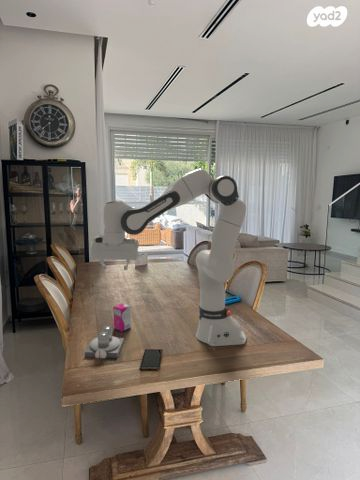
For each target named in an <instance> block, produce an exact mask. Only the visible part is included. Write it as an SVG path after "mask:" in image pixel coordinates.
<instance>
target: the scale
mask: <svg viewBox="0 0 360 480" xmlns="http://www.w3.org/2000/svg"><path fill="white" fill-rule="evenodd" d="M124 343H125V338H124V337H117V336H113V339H112V340H111V341H109V346H108V347H107V348H99V347H98V336H97V337H96V336H94V337H93V338H92V339H91V341H90V343H89V345H88V346H87V348H86V349H85V351H84V357H85V358H96V359H106V358H116V359H117V358H118V357H119V355H120V352H121V351H122V348H123V346H124Z"/></svg>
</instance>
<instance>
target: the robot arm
mask: <svg viewBox="0 0 360 480" xmlns="http://www.w3.org/2000/svg"><path fill="white" fill-rule="evenodd" d="M202 195H205V196H206V197H207V198H208V199H209V200H210V201H212V202H213V203H216V204H219V206H220V210H219V214H218V216H217V219H216V221H215V224H214V227H213V229H212V232H211V234H210V238H211V244H210V245H211V246H210V249H203V250H200V251H199V252H198V253H197V255H196V257H195V264H196V268H197V273H198V274H197V275H198V282H199V292H200V293H199V294H200V295H199V296H200V297H199V298H200V299H199V306H198V327H197V330H196V334H195V338H196V339H197V340H198V341H200V342H201V343H205V344H207V345H208V346H210V347H223V346H237V345H245V343H246V342H247V336H246V333H245V332H244V331H243V330H242V329H241V325H240V323H239V322H238V320H237V319H235V318H234V317H232V312H231V310H230V309H229V308H228V306H226V288H225V287H224V282H227V281H229V280H230V279H231V278H232V277H233V276H234V273H235V267H234V254H235V248H236V243H237V240H238V237H239V234H240V232H241V230H242V227H243V223H244V221H245V216H246V213H247V212H246V211H247V205H246V204H245V202H244V201H243V200H241V199H239V198H240V197H239V191H238V184H237V182H236V180H235V179H234V178H233V177H232V176H229V175H224V174H223V175H219V176H218V177H216V178H213V177H212V176H211V175H210V174H209V172H208V171H207V170H206V169H203V168H198V169H197V168H196V169H194V170H191V171H189V172H187V173H185V174H183V175H182V176H180V177H178V178H177V179H176V180H175V179H174V180H173V182H172V183H170V184H169V185H168V186H167V187H166V188H165V190H164V192H162V194H161V195H160V196H158V198H156V199H154V200H153V201H151V202H150V203H148V204H146V205H145V206H142V207H139V208H137V207H134V206H132V205H130V204H127V203H126V202H124V200H121V199H117V200H111V201H108V202H106V204H105V205H104V208H103V224H104V227H103V228H104V229H103V233H102V234H100V235H97V236H95V237H93V239H92V245H91V249H90V257H91V259H92V260H99V264H100V265H101V269H102V270H107V268H108V266H107V264H105V263H104V261H105V260H108V261H109V260H110V261H112V260H114V261H125V262H126V264H124V265H123V270H124V271H127V270H128V269H129V265H130V263H131V261H137V260H138V258H139V250H138V249H139V245H140V244H139V241H138V240H137V239H136V238H130V237H129V238H128V237H127V238H126V234H129V235H132V236H136V235H140V234H141V233H143V231H144V230H145V229H146V228H147V226H148V225H149V223H151V222H152V221H153V220H154V219H156V218H158V217H159V216H161V215H163V214H164V213H166V212H168V211H170V210H172V209H174V208H177V207H180V206H184V205H186V204H188V203H190V202H191V201H193V200H195V199H196V198H198V197H200V196H202Z"/></svg>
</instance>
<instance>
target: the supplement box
mask: <svg viewBox="0 0 360 480" xmlns="http://www.w3.org/2000/svg"><path fill="white" fill-rule="evenodd" d="M112 309H113V329H114V330H116V331H118V332H120V333H125V332H126V331H128V330H130V329H132V327H131V326H132V324H131V322H132V321H131V306H130V305H129V304H126V303H123V302H122V303H120V304H117V305H114V306H113V308H112Z"/></svg>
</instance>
